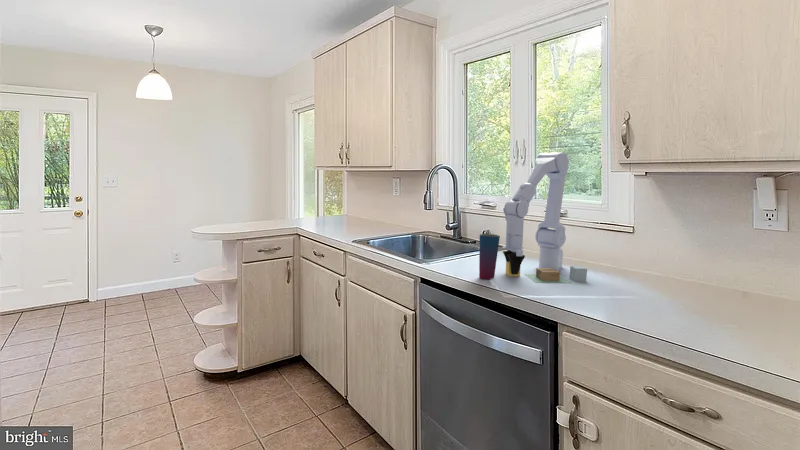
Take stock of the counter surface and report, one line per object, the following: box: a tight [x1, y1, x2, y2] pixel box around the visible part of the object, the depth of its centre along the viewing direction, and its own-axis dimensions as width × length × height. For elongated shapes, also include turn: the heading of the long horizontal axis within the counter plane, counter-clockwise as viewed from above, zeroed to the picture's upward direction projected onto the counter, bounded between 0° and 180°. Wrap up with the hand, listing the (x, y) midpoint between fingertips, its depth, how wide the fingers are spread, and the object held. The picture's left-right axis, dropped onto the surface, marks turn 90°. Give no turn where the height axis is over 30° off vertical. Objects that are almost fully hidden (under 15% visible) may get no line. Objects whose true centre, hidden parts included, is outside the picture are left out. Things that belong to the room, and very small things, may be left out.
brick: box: [569, 265, 588, 282], centre depth 144 cm, size 4×4×5 cm
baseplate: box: [524, 273, 572, 284], centre depth 145 cm, size 12×12×1 cm
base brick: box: [535, 268, 561, 281], centre depth 145 cm, size 6×6×3 cm
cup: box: [478, 233, 501, 281], centre depth 146 cm, size 7×7×15 cm
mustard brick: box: [505, 260, 521, 277], centre depth 150 cm, size 4×4×5 cm
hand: (512, 272), depth 150 cm, fingers closed on mustard brick, 4 cm apart
